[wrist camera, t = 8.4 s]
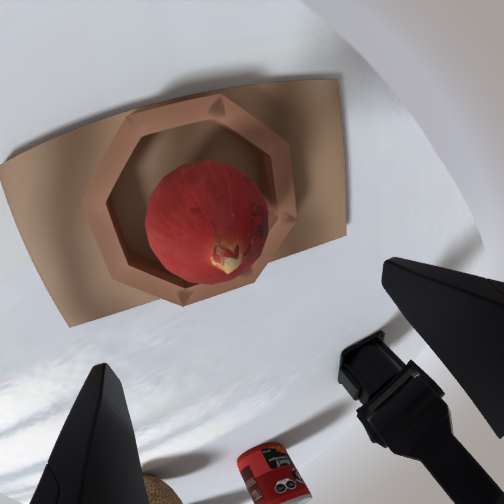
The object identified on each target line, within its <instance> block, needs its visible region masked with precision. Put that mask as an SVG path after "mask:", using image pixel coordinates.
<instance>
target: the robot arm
mask: <svg viewBox="0 0 504 504" xmlns="http://www.w3.org/2000/svg"><path fill="white" fill-rule="evenodd" d="M381 281H382V285H383V287H384V289H385V290H386V292H387V293H388V294H389V296H390V297H391V298H392V300H393V301H394V303H395V304H396V305H397V307H398V308H399V310H400V311H401V312H402V314H403V315H404V317H405V318H406V319H407V320H408V322H409V323H410V324H411V325H412V326H413V328H414V329H415V330H416V331H417V332H418V333H419V335H420V336H421V337H422V338H423V339H424V340H425V342H426V343H427V344H428V345H429V346H430V348H431V349H432V350H433V351H434V352H435V354H436V355H437V356H438V357H439V358H440V360H441V361H442V362H443V364H444V365H445V366H446V367H447V369H448V370H449V371H450V372H451V374H452V375H453V376H454V378H455V379H456V380H457V381H458V383H459V384H460V385H461V386H462V388H463V389H464V390H465V392H466V393H467V394H468V396H469V397H470V398H471V400H472V401H473V403H474V404H475V406H476V407H477V408H478V410H479V411H480V412H481V414H482V415H483V416H484V418H485V419H486V421H487V422H488V424H489V425H490V427H491V428H492V429H493V431H494V432H495V434H496V435H497V436H498V438H499V439H501V438H502V437H503V436H504V282H500V281H496V280H492V279H486V278H483V277H479V276H475V275H471V274H467V273H463V272H459V271H455V270H451V269H446V268H442V267H438V266H433V265H429V264H425V263H420V262H416V261H412V260H407V259H403V258H398V257H392V258H390V259H388V260H386V261H385V262H384V264H383V272H382V280H381ZM384 336H385V333H384V332H383V331H380V332H378V333H377V334H375V335H373V336H371V337H370V338H368V339H366V340H364V341H362V342H360V343H359V344H357V345H355V346H353V347H351V348H349V349H347V350H345V351H344V352H342V354H341V358H340V366H339V374H338V382H339V384H342V385H343V386H344V388H345V389H346V390H347V391H348V393H349V394H350V395H351V397H352V398H353V399H354V400H358V399H359V401H360V402H361V403H362V404H363V406H361V407H359V408H358V409H357V410H356V411H357V413H358V414H357V417H358V419H359V420H360V421H361V423H362V424H363V425H364V427H365V429H366V432H367V434H368V436H369V438H370V440H371V441H372V442H373V443H378V444H379V445H381V446H382V447H384V448H387V447H389V449H390V450H391V451H392V452H393V453H394V454H397V455H400V456H404V457H407V458H411V459H414V460H418V461H421V462H422V463H423V465H424V466H425V467H426V468H427V470H428V471H429V472H430V473H431V475H432V476H433V477H434V478H435V480H436V481H437V482H438V483H439V485H440V486H441V487H442V488H443V489H444V491H445V492H446V493H447V495H448V496H449V497H450V498H451V500H452V501H453V502H454V503H455V504H504V492H503V491H502V490H501V489H500V488H499V486H498V485H497V484H496V483H495V482H494V481H493V480H492V478H491V477H490V476H489V475H488V474H487V473H486V472H485V470H484V469H483V468H482V467H481V466H480V465H479V463H478V462H477V461H476V460H475V459H474V458H473V457H472V455H471V454H470V453H469V452H468V451H467V450H466V449H465V448H464V446H463V445H462V444H461V443H460V442H459V441H458V440H457V439H456V438H455V436H454V435H453V428H452V419H451V412H450V410H449V408H448V405H447V404H446V403H445V402H444V401H443V400H442V397H443V396H444V395H445V393H444V392H443V390H442V389H441V388H440V387H439V386H438V385H437V384H436V382H435V381H434V380H432V379H431V378H430V377H429V376H428V375H427V374H426V373H425V372H424V371H423V370H422V369H421V368H420V367H419V366H418V365H416V364H415V363H414V362H413V361H412V360H410V361H409V362H408V364H407V365H406V364H405V363H404V362H403V361H402V360H401V359H400V358H399V357H398V356H397V355H396V354H395V353H394V352H393V351H392V350H391V349H390V348H389V347H388V346H387V345H386V344H385V343H384V342H383V340H384ZM416 375H417V376H416ZM415 376H416V377H415ZM414 377H415V378H414ZM30 504H150V502H149V498H148V494H147V490H146V486H145V482H144V478H143V474H142V469H141V465H140V460H139V455H138V450H137V445H136V439H135V434H134V430H133V426H132V422H131V419H130V415H129V411H128V408H127V404H126V400H125V395H124V391H123V387H122V384H121V382H120V380H119V378H118V377H117V376H116V374H115V373H114V372H113V370H112V369H111V368H110V366H109V365H108V364H107V363H102V364H98V365H95V366H93V368H92V369H91V371H90V373H89V375H88V377H87V379H86V381H85V383H84V385H83V386H82V388H81V390H80V392H79V394H78V396H77V398H76V400H75V402H74V404H73V407H72V409H71V411H70V413H69V415H68V417H67V419H66V421H65V423H64V425H63V428H62V430H61V432H60V434H59V436H58V439H57V441H56V443H55V445H54V448H53V450H52V452H51V455H50V457H49V460H48V464H46V467H45V469H44V472H43V474H42V476H41V479H40V481H39V484H38V486H37V488H36V491H35V493H34V495H33V497H32V499H31V501H30Z"/></svg>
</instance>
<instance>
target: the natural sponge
mask: <svg viewBox="0 0 504 504" xmlns="http://www.w3.org/2000/svg"><path fill="white" fill-rule="evenodd" d="M143 478H144V482H145V486H146V490H147V494H148V498H149V502H150V504H183V503H182V501H181V499H180V498H179V497H178V496H177V494H176V493H175V492H174V490H173V489H172V488H171V487H170V486H169V485H167V484H166V483H165V482H163V481H162V480H160V479H158V478H157V477H154V476H151V475H143Z"/></svg>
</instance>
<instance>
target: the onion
mask: <svg viewBox="0 0 504 504" xmlns="http://www.w3.org/2000/svg"><path fill="white" fill-rule="evenodd" d="M145 228H146V232H147V237H148V241H149V245H150V247H151V249H152V250H153V252H154V253H155V255H156V256H157V257H158V259H159V260H160V262H161V263H162V264H163V266H164V267H165V268H166V269H167V270H168V271H170V272H171V273H173V274H175V275H177V276H179V277H181V278H182V279H184V280H186V281H188V282H192V283H199V284H209V285H214V284H218V283H222V282H227V281H231V280H233V279H234V278H236V277H238V276H239V275H241V274H243V273H244V272H246V271H248V269H249V268H250V267H251V266H252V265H253V264H254V263H255V262H256V260H257V259H258V258H259V257H260V256H261V253H262V251H263V248H264V245H265V242H266V240H267V237H268V233H269V225H268V206H267V203H266V201H265V199H264V197H263V196H262V194H261V192H260V190H259V189H258V187H257V185H256V183H255V182H254V181H253V180H252V179H251V178H250V177H249V176H247V175H246V174H244V173H243V172H241V171H239V170H238V169H236V168H235V167H233V166H232V165H230V164H226V163H221V162H215V161H210V160H205V161H200V162H195V163H190V164H184V165H181V166H179V167H178V168H176V169H175V170H173V171H172V172H170V173H169V174H167V175H166V176H164V177H163V178H162V179H161V181H160V182H159V184H158V185H157V186H156V188H155V189H154V191H153V192H152V194H151V195H150V197H149V202H148V207H147V213H146V218H145Z"/></svg>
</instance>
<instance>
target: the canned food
mask: <svg viewBox="0 0 504 504" xmlns="http://www.w3.org/2000/svg"><path fill="white" fill-rule="evenodd" d="M237 465H238V468H239V471H240V473H241V475H242V478H243V480H244V482H245V484H246V487H247V489H248V491H249V493H250V495H251V497H252V500H253V501H254V504H305V503H307V502H308V501H310V499H312V496H311V493H310V491H309V489H308V488H307V486H306V484H305V483H304V481H303V479H302V478H301V476H300V474H299V472H298V471H297V469H296V467H295V465H294V464H293V462H292V460H291V458H290V457H289V455H288V453H287V451H286V450H285V448H284V447H283V446H282V445H281V444H280V443H267V444H263V445H260V446H257V447H255V448H252V449H250V450H248V451H246V452H245V453H243V454H242V455H241V456H240V457H239V458H238V460H237Z"/></svg>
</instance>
